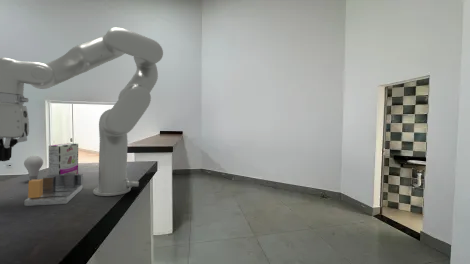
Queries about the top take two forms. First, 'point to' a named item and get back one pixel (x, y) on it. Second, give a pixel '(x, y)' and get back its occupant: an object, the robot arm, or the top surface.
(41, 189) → the cap
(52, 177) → the console
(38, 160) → the lightbulb
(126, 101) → the robot arm
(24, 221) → the top surface
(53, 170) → the candy bar box
